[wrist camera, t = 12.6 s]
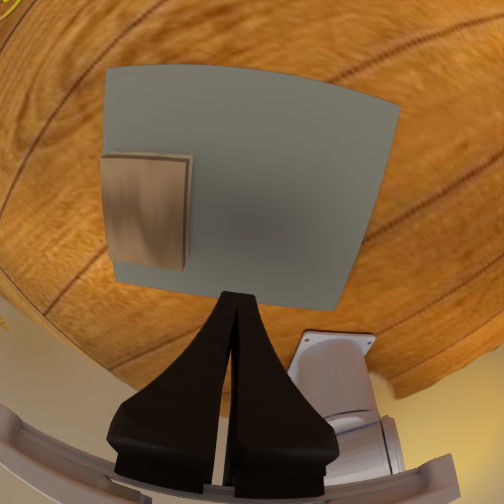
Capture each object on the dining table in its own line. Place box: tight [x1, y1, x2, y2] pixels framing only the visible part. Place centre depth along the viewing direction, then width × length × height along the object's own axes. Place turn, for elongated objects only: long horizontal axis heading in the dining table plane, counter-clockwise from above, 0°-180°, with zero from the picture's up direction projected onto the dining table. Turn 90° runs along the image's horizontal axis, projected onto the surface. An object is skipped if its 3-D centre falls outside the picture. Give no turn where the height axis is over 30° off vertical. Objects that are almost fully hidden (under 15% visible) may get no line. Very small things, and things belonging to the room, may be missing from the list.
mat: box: [103, 64, 401, 311], centre depth 19 cm, size 18×20×1 cm
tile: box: [100, 151, 193, 272], centre depth 19 cm, size 8×2×6 cm
